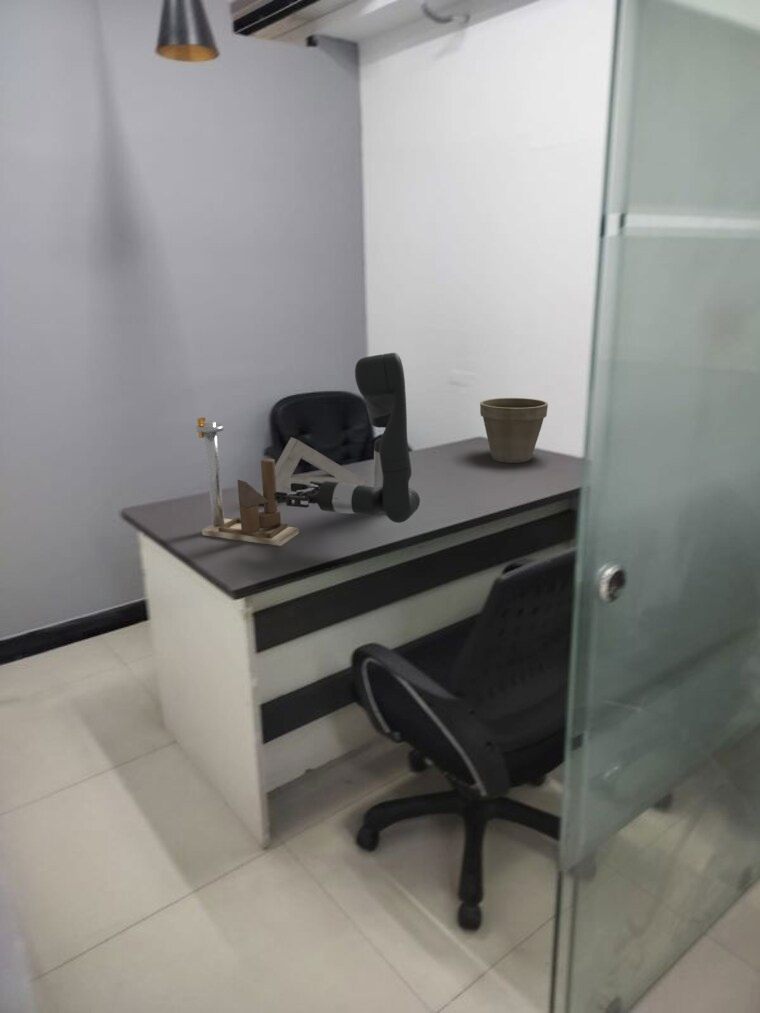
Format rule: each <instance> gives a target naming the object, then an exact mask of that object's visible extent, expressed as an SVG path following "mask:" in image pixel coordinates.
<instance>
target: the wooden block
mask: <svg viewBox="0 0 760 1013" xmlns="http://www.w3.org/2000/svg"><path fill="white" fill-rule="evenodd" d="M275 461H276V460H275V459H274V458H269V457H268V458H267V457H266V458H263V459H261V460H260V469H261V471H260V472H261V484H262V489H263V496H262V495H261V494H260V493H261V492H259V491H257V489H256V488H254V487H253V486H252V485H250V484H249V483H248V482H247V481H244V480H241V479H237V491H238V503H239V512H240V514H239V515H240V517H239V518H241V529H242V531H244V532H246V533H249V534H250V533H253V532H256V531H259V530H260V528H268V527H271V526H274V525H277V524H280V523H282V520H281V519H282V518H281V511H280V510H278V501H276V500H275V495H274V493H275V492H276V476H275V465H276V463H275ZM263 503H264V504H263ZM259 505H263V511H261V512H259Z"/></svg>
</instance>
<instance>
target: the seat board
mask: <svg viewBox="0 0 760 1013" xmlns="http://www.w3.org/2000/svg"><path fill="white" fill-rule="evenodd" d="M224 523H225V524H224V525H223V526H220V527H215V526H213V523H211V524H210V525H208V526H206V527H204V528H202V530H201V533H202V536H207V537H212V538H213V537H215V538H222V539H228V540H235V541H243V542H249V543H256V544H257V543H258V544H262V545H263V544H264V545H270V546H278V547H281V546H283V545H285V544H286V543H287V542H289V541H290V540H291V539H293V538H294V537H296V536H297V535H298V534H300V532H299V531H300V530H299V527H294V526H293V527H292V526H288V525H289V524H288V523H285V522H284V523H283V522H281V523H280V524H277V525H274V526H271V527H268V528H260V530H259V531H256V532H253V533H250V534H249V533H246V532H244V531H242V529H241V517H235V518H233V519H231V518H224Z"/></svg>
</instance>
